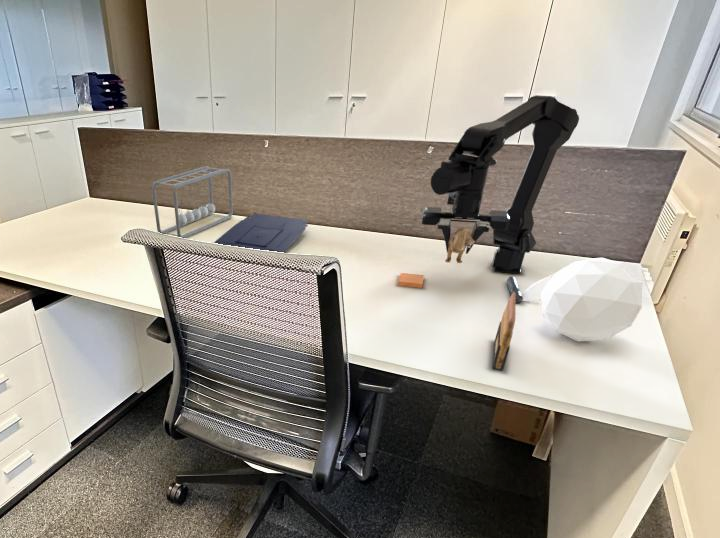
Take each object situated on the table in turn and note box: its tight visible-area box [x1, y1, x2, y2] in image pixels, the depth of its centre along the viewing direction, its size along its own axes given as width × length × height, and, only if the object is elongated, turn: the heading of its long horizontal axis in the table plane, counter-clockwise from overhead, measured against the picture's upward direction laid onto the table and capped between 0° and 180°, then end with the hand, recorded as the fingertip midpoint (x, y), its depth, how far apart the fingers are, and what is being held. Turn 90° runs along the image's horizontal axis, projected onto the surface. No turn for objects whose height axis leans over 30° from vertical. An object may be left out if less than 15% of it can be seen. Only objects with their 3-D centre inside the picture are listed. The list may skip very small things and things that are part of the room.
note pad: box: [397, 272, 425, 289], centre depth 128 cm, size 6×6×1 cm
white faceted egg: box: [521, 257, 643, 342], centre depth 104 cm, size 16×22×28 cm
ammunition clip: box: [491, 293, 516, 371], centre depth 94 cm, size 11×2×12 cm, turn 155°
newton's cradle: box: [151, 165, 234, 239], centre depth 170 cm, size 30×10×18 cm, turn 144°
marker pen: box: [506, 276, 523, 304], centre depth 120 cm, size 2×13×2 cm
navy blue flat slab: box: [213, 212, 309, 253], centre depth 158 cm, size 24×30×4 cm
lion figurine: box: [444, 226, 476, 264], centre depth 119 cm, size 15×5×9 cm, turn 163°
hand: (457, 252), depth 120 cm, fingers closed on lion figurine, 4 cm apart
